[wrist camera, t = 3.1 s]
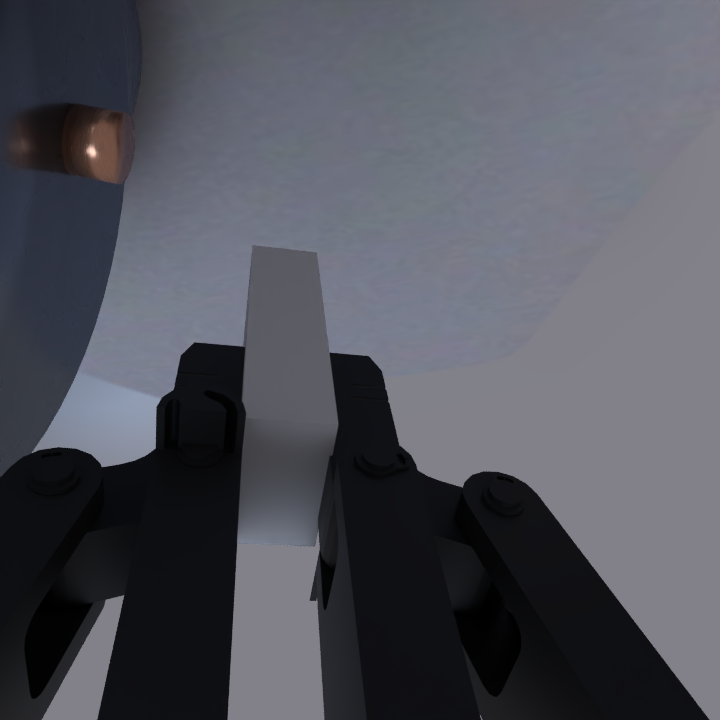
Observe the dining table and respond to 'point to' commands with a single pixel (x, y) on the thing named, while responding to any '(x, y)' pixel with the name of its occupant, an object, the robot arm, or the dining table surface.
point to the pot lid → (56, 198)
